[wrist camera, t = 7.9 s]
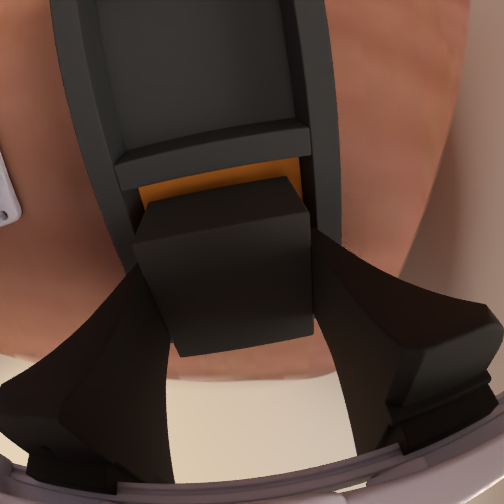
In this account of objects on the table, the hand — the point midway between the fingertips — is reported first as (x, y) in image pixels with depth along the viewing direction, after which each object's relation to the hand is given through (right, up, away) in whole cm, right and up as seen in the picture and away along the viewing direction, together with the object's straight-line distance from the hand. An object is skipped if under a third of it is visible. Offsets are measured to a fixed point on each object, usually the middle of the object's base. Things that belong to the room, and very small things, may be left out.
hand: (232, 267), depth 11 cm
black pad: (0, +1, +1) cm, 1 cm away
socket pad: (-1, +5, +1) cm, 5 cm away
